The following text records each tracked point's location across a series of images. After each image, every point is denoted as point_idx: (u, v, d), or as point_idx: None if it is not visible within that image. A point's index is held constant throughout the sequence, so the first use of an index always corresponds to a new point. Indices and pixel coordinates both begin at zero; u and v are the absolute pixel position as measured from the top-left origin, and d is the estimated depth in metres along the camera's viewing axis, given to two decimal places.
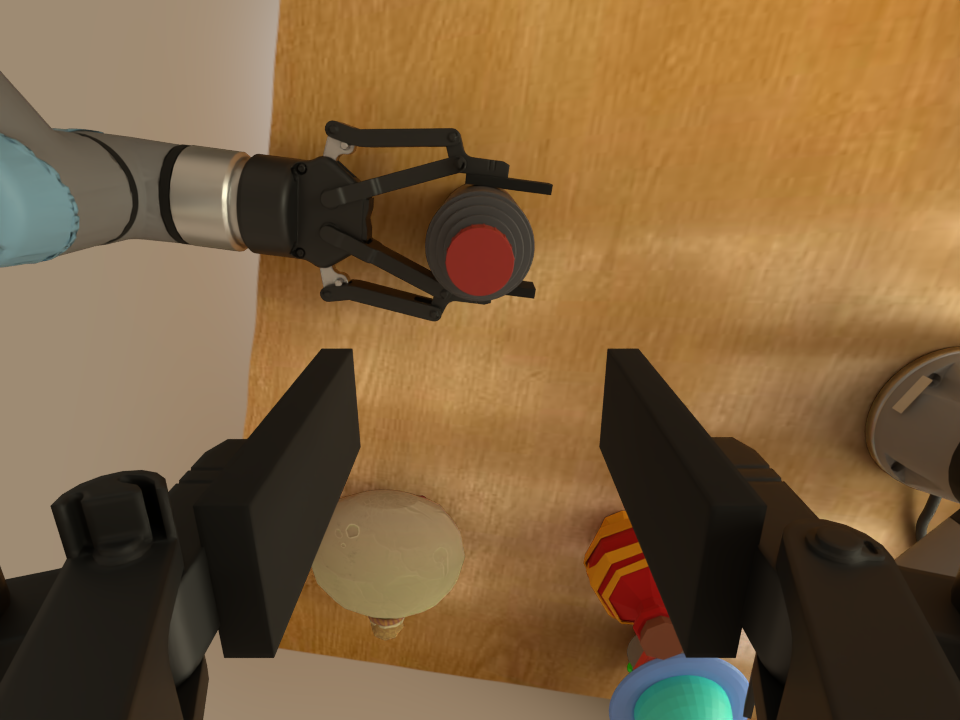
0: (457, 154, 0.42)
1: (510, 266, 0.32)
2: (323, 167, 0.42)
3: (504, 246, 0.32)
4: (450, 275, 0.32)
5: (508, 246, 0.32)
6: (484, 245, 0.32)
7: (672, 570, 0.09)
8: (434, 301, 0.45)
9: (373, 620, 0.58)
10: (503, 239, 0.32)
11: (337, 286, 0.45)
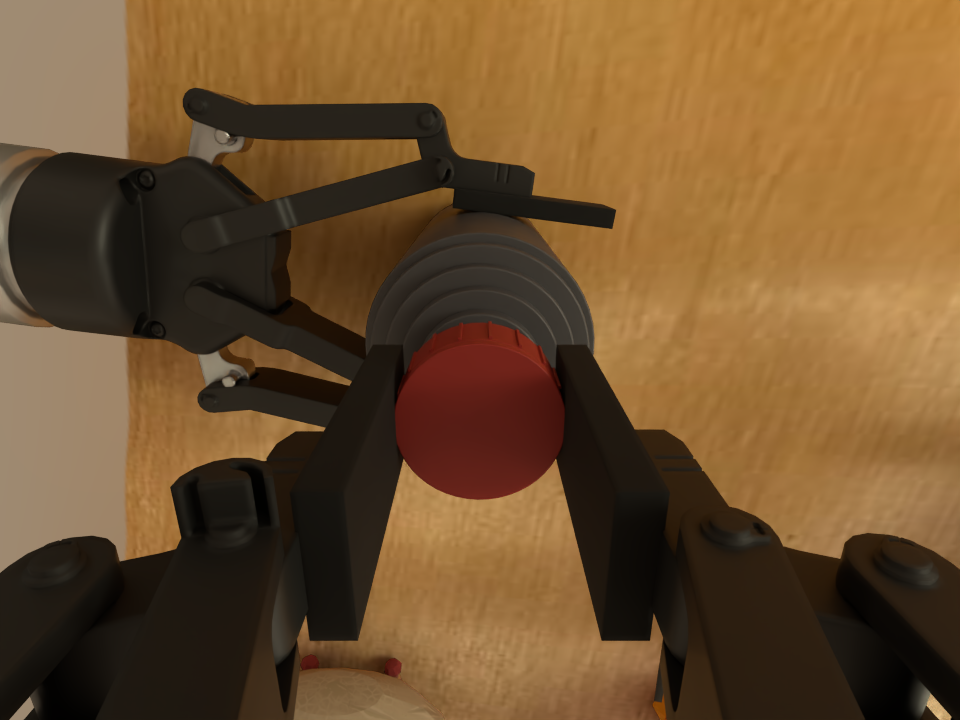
0: (437, 153, 0.22)
1: (556, 434, 0.13)
2: (186, 177, 0.22)
3: (543, 389, 0.12)
4: (406, 454, 0.13)
5: (553, 388, 0.12)
6: (491, 386, 0.12)
7: (594, 558, 0.09)
8: None
9: None
10: (540, 372, 0.12)
11: (227, 387, 0.25)
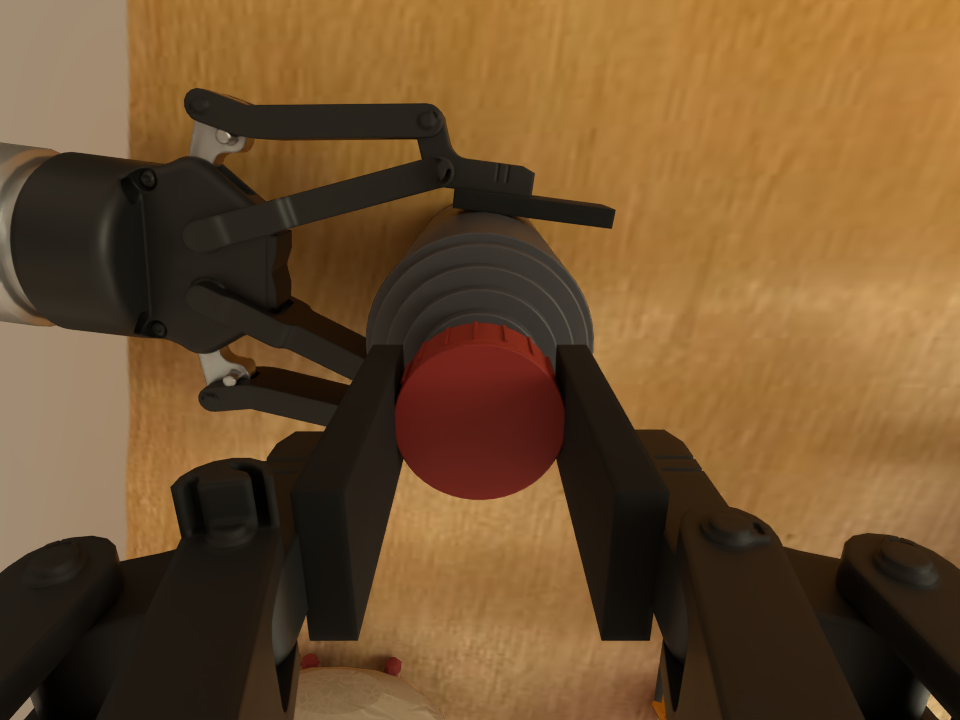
0: (438, 153, 0.22)
1: (462, 353, 0.12)
2: (187, 177, 0.22)
3: (419, 385, 0.12)
4: (534, 477, 0.13)
5: (415, 375, 0.12)
6: (435, 429, 0.13)
7: (594, 558, 0.09)
8: None
9: None
10: (403, 393, 0.12)
11: (228, 386, 0.25)
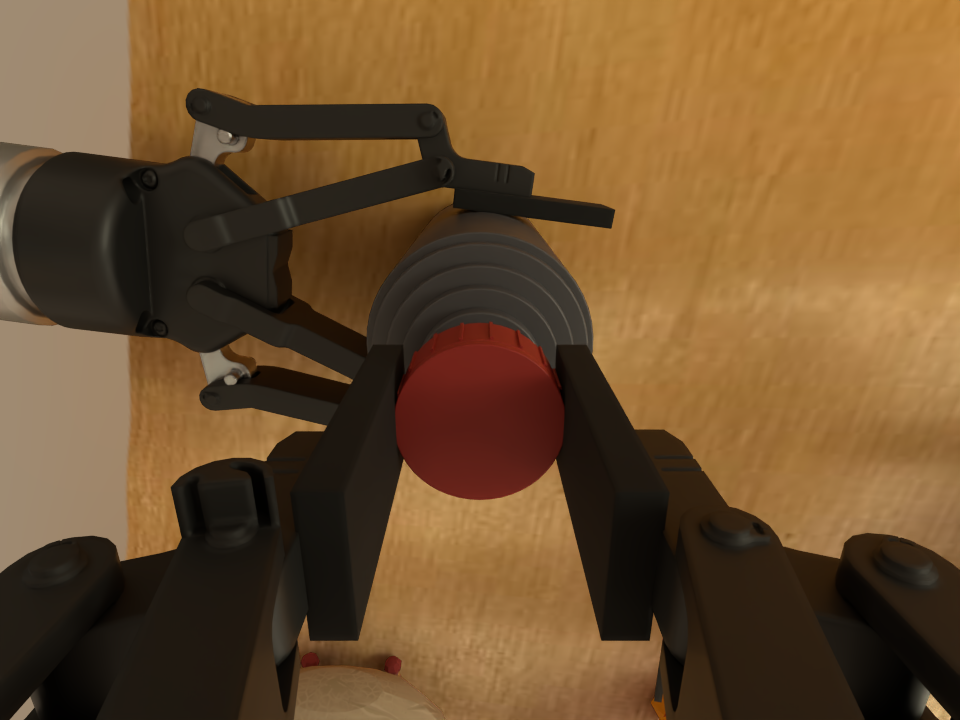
0: (438, 153, 0.22)
1: (415, 462, 0.13)
2: (188, 177, 0.22)
3: (458, 487, 0.13)
4: (518, 357, 0.12)
5: (451, 491, 0.13)
6: (497, 462, 0.13)
7: (593, 557, 0.09)
8: None
9: None
10: (471, 497, 0.13)
11: (229, 385, 0.25)
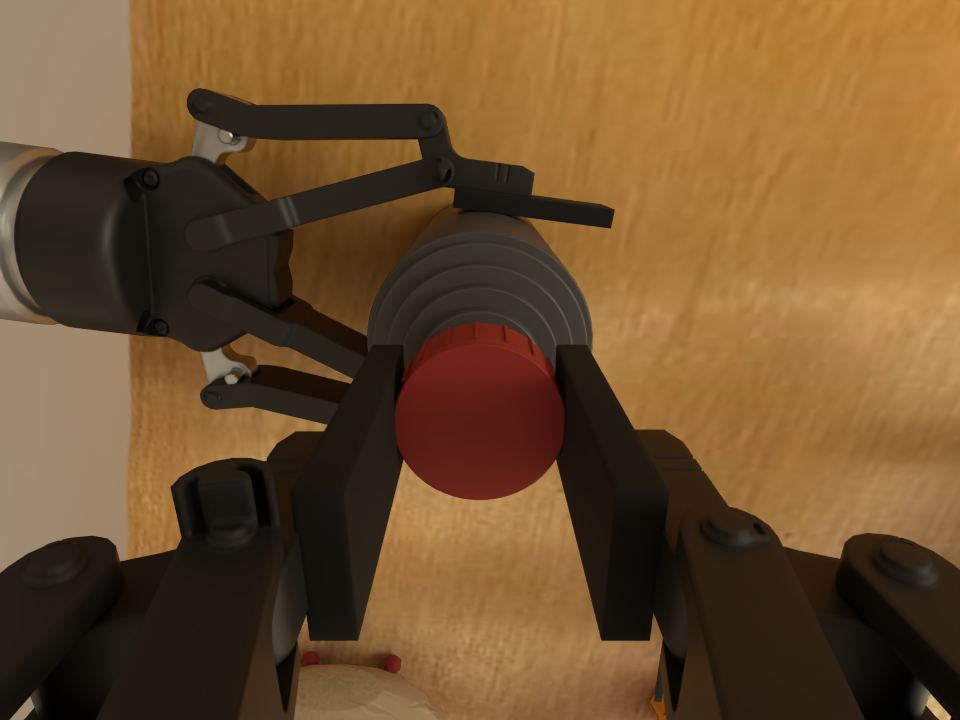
0: (438, 153, 0.23)
1: (539, 468, 0.13)
2: (190, 177, 0.22)
3: (553, 424, 0.13)
4: (397, 416, 0.13)
5: (561, 428, 0.13)
6: (512, 398, 0.12)
7: (594, 557, 0.09)
8: None
9: None
10: (561, 409, 0.12)
11: (229, 384, 0.25)
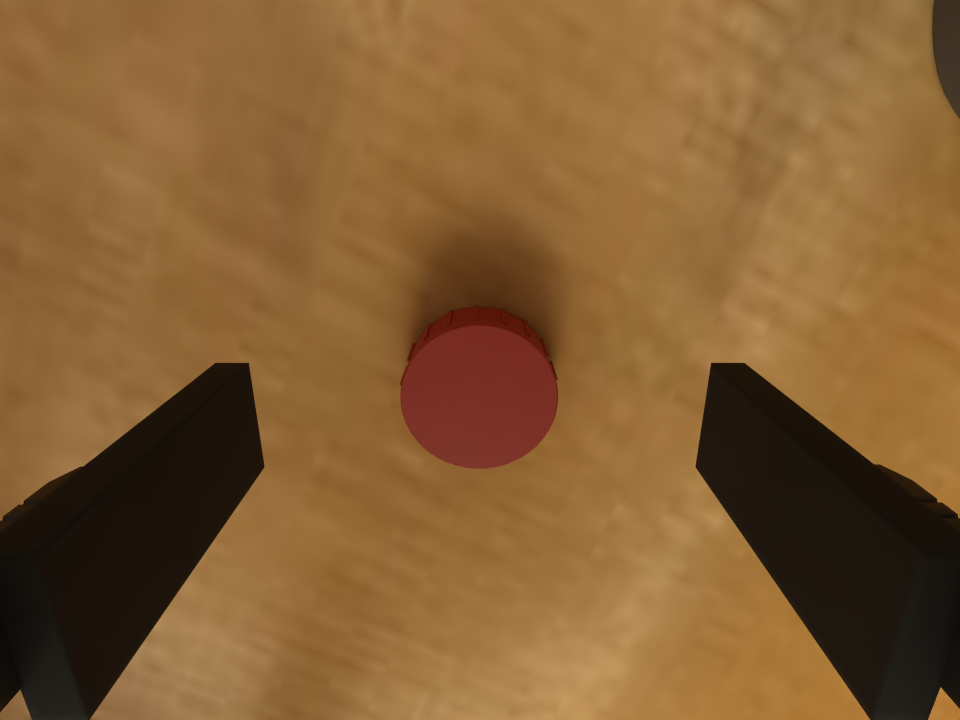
0: None
1: (533, 439, 0.14)
2: None
3: (546, 398, 0.14)
4: (404, 391, 0.14)
5: (553, 402, 0.14)
6: (508, 374, 0.14)
7: (844, 619, 0.08)
8: None
9: None
10: (553, 384, 0.14)
11: None
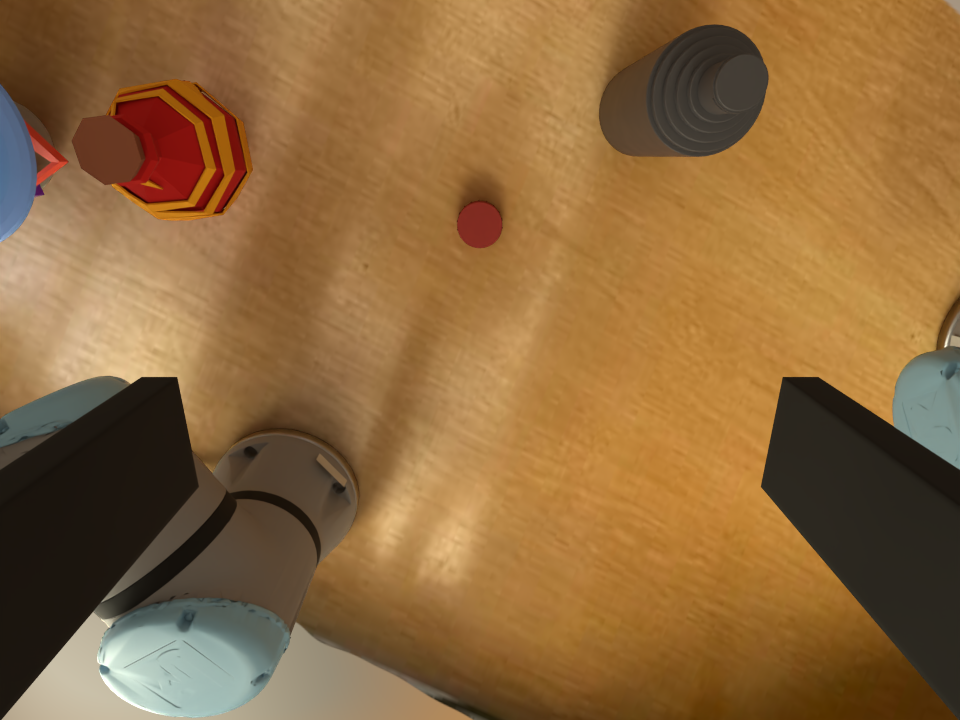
0: None
1: (495, 238, 0.49)
2: None
3: (498, 224, 0.49)
4: (458, 222, 0.49)
5: (501, 226, 0.49)
6: (488, 217, 0.49)
7: None
8: None
9: None
10: (500, 220, 0.49)
11: None
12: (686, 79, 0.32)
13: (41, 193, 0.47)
